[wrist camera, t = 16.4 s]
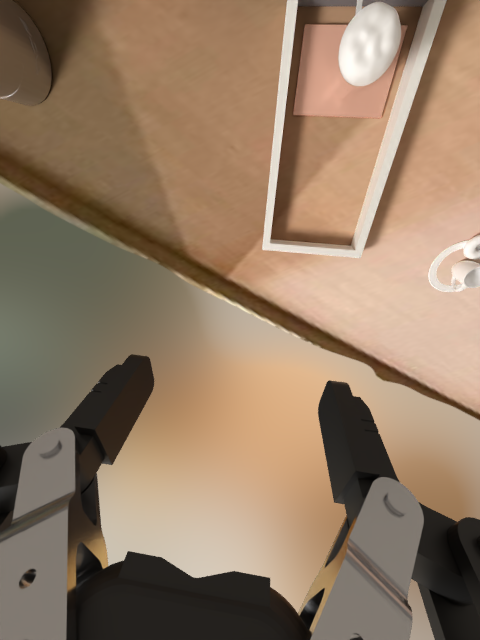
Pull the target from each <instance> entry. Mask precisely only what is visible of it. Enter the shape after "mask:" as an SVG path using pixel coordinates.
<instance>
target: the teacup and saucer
mask: <svg viewBox="0 0 480 640" xmlns="http://www.w3.org/2000/svg"><path fill="white" fill-rule="evenodd" d="M463 248H464V250H463V252H464V255H465V256H466V257H467V258H469V259H480V235H477V236H475V237H473V238H472V239H470V240H466V241H462V242H459V243H456V244H454V245H452V246H450V247H448V248H447V249H445V250H444V251H443V252H441V253H440V254H439V255H438V256H437V257H436V259H435V260H434V261H433V263H432V265H431V267H430V269H429V274H428V278H429V282H430V284H431V285H432V286H433V287H434V288H435V289H437V290H439V291H443V292H455V291H458V292H459V291H462V290H464V289H466V288H468V287H469V288H475V287H479V286H480V264H479V263H476V262H473V261H467V260H465V261H459V262H457V263H456V264H454V265H453V267H452V269H451V272H452V274H453V277H452V280H451V284H452V286H448V285H444V284H442V283H440V282H439V280H438V279H437V276H436V272H437V268H438V266H439V264H440V263H441V261H442V260H443V259H444V258H445V257H446V256H448V255H449V254H451V253H452V252H454V251H456V250H459V249H463ZM475 249H477V250H478V251H477V250H475ZM456 279H457V280H458V281H459V282H461V283H462V284H459V285H455V281H456Z"/></svg>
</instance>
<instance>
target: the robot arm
mask: <svg viewBox="0 0 480 640" xmlns="http://www.w3.org/2000/svg"><path fill="white" fill-rule="evenodd" d="M51 79H52V74H51V64H50V59H49V54H48V51H47V49H46V46H45V43H44V41H43V38H42V36H41V34H40V32H39V30H38V29H37V27H36V26H35V24H34V22H33V21H32V19H31V18H30V17H29V16H28V14H27V13H26V12H25V11H24V10H23V9H22V8H21V7H20V6H19V5H18V4H17V3H16V2H15V1H13V0H0V98H1V99H5V100H9V101H13V102H16V103H20V104H24V105H36V104H39V103H41V102H42V101H43V100H44V99H45V98H46V96H47V95H48V93H49V90H50V87H51ZM153 387H154V377H153V372H152V367H151V362H150V359H149V357H147V356H139V355H130V356H129V357H128V358H127V359H126V360H125V362H124V363H123V364H122V365H116V366H114V367H113V368H112V369H110V370H109V371H107V372H106V373H105V374H104V375H103V377H102V378H101V379H100V380H99V382H98V384H96V385H95V386H94V388H93V389H92V390H91V392H90V393H89V394H88V395H87V396H86V397H85V399H84V400H83V401H82V402H81V403H80V405H79V406H78V407H77V408H76V409H75V411H74V412H73V413H72V414H71V415H70V417H69V418H68V419H67V420H66V421H65V423H64V424H63V425H62V426H61V427H60V428H56V429H53V430H50V431H47V432H45V433H44V434H42V435H40V436H39V437H38V438H37V439H35V440H34V441H33V442H30V443H24V444H17V445H11V446H5V447H1V446H0V640H409V638H410V633H411V627H412V610H411V607H410V606H409V604H408V601H407V596H408V589H409V585H410V581H411V579H413V580H414V581H416V582H417V583H418V586H419V589H420V593H421V596H422V599H423V602H424V606H425V609H426V612H427V615H428V618H429V622H430V625H431V628H432V632H433V635H434V638H435V640H480V520H478V519H475V518H470V517H468V518H464V519H461V520H460V521H458V522H456V521H454V520H452V519H450V518H448V517H446V516H444V515H442V514H440V513H438V512H436V511H434V510H432V509H430V508H428V507H426V506H424V505H422V504H421V503H419V502H418V501H417V499H416V498H415V496H414V495H413V494H412V493H411V492H410V491H409V490H408V489H407V488H406V487H405V486H404V485H403V484H401V483H400V482H399V480H398V478H397V476H396V474H395V472H394V469H393V467H392V464H391V462H390V459H389V457H388V454H387V452H386V449H385V447H384V444H383V442H382V439H381V437H380V434H378V429H377V427H376V424H375V423H374V419H373V417H372V414H371V412H370V409H369V408H368V406H367V405H366V404H365V403H364V402H363V400H361V398H360V397H354V396H353V395H352V393H351V390H350V387H349V385H348V384H347V383H344V382H336V381H328V382H327V384H326V386H325V389H324V392H323V395H322V397H321V400H320V403H319V407H318V415H319V421H320V427H321V433H322V438H323V444H324V449H325V455H326V460H327V466H328V470H329V476H330V481H331V487H332V493H333V498H334V502H335V503H340V504H345V509H346V514H347V515H346V517H345V519H344V521H343V523H342V525H341V527H340V530H339V532H338V534H337V536H336V538H335V540H334V542H333V545H332V547H331V549H330V551H329V553H328V555H327V557H326V559H325V562H324V564H323V566H322V568H321V570H320V572H319V573H318V575H317V577H316V578H315V580H314V582H313V583H312V586H311V587H310V589H309V591H308V593H307V595H306V597H305V599H304V602H303V604H302V606H301V608H300V610H299V612H298V613H297V612H296V610H295V609H294V608H293V607H292V605H291V604H290V603H289V602H288V601H287V600H286V599H285V598H284V597H283V596H281V595H280V594H279V593H278V592H277V591H275V590H274V589H272V588H271V587H270V578H267V577H262V576H257V575H251V574H246V573H241V572H235V571H233V572H227V573H222V574H217V575H212V576H207V577H202V578H193V577H191V576H190V575H188V574H186V573H185V572H183V571H182V570H180V569H179V568H177V567H175V566H174V565H172V564H171V563H169V562H167V561H166V560H165V559H163V558H161V557H156V556H150V555H145V554H140V553H135V552H129V551H128V552H127V555H126V557H125V560H124V561H121V562H118V563H115V564H112V565H110V566H108V558H107V550H106V544H105V540H104V537H103V534H102V529H101V519H100V507H99V494H98V481H97V473H96V472H97V471H98V469H99V467H100V465H101V464H102V463H103V464H109V465H112V464H113V462H114V461H115V459H116V457H117V455H118V453H119V452H120V450H121V448H122V446H123V444H124V442H125V441H126V439H127V437H128V435H129V433H130V431H131V430H132V428H133V426H134V424H135V422H136V420H137V419H138V417H139V415H140V413H141V411H142V409H143V408H144V405H145V404H146V402H147V400H148V398H149V396H150V395H151V393H152V390H153Z"/></svg>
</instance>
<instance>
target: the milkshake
mask: <svg viewBox="0 0 480 640" xmlns="http://www.w3.org/2000/svg"><path fill="white" fill-rule="evenodd" d="M362 3H363V0H357V5H356V14H355V16H354V17H353V19H352V20H351V21H350V23H349V24H348V26H347V28H346V29H345V31H344V34H343V36H342V39H341V43H340V46H339V50H338V53H337V56H336V59H335V62H334V65H333V68H332V70H331V74H330V80H329V88H330V91H331V94H332V96H334V97H336V98H338V99H340V100H341V99H344V98H346V97H349V96H351V95H353V94H354V93H356V92H357V91H359V90H360V89H362V88H363V87H365V86H367V85H369V84H371V83H373V82H374V81H376V80H377V79H379V78H380V77H381V76H382V75H383V74H384V73H385V71H386V70H387V69H388V68H389V66H390V65H391V63H392V61H393V59H394V57H395V55H396V53H397V51H398V48H399V45H400V40H401V25H400V20H399V16H398V13H397V11H396V9H395V8H393V7H392V6H390V5H388V4H386V3H383V2H374V3H371V4H369V5H368V6H366V7H364V8H363V9H362Z"/></svg>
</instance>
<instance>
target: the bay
mask: <svg viewBox="0 0 480 640" xmlns="http://www.w3.org/2000/svg"><path fill="white" fill-rule="evenodd" d="M446 1H447V0H363V3H362V6H368V5H369V4H371V3H374V2H383V3H386V4H388V5H390V6H423V8H422V11H421V15H420V18H419V21H418V25H417V28H416V31H415V34H414V38H413V41H412V44H411V48H410V51H409V54H408V58H407V61H406V64H405V68H404V71H403V74H402V78H401V81H400V84H399V87H398V91H397V94H396V97H395V101H394V104H393V107H392V111H391V114H390V117H389V121H388V124H387V127H386V131H385V134H384V137H383V140H382V144H381V147H380V150H379V154H378V157H377V160H376V164H375V167H374V170H373V174H372V177H371V180H370V184H369V187H368V190H367V193H366V197H365V200H364V203H363V207H362V210H361V213H360V217H359V220H358V223H357V227H356V230H355V233H354V237H353V240H352V243H351V246H348V245H336V244H324V243H311V242H299V241H287V240H275V239H270V238H271V229H272V221H273V212H274V203H275V195H276V186H277V177H278V169H279V160H280V152H281V143H282V134H283V126H284V117H285V109H286V100H287V91H288V83H289V74H290V65H291V57H292V48H293V40H294V31H295V22H296V14H297V6H356V5H357V0H287V8H286V17H285V27H284V37H283V47H282V57H281V67H280V77H279V87H278V97H277V107H276V117H275V127H274V137H273V147H272V157H271V167H270V177H269V187H268V197H267V207H266V217H265V227H264V237H263V247H262V250H271V251H283V252H295V253H307V254H318V255H330V256H342V257H353V258H361V255H362V252H363V249H364V246H365V243H366V240H367V237H368V234H369V231H370V228H371V225H372V222H373V219H374V216H375V213H376V210H377V207H378V204H379V201H380V198H381V195H382V192H383V189H384V186H385V183H386V180H387V177H388V174H389V171H390V168H391V165H392V162H393V159H394V156H395V153H396V150H397V147H398V144H399V141H400V138H401V135H402V132H403V129H404V126H405V124H406V121H407V118H408V115H409V112H410V109H411V106H412V103H413V100H414V97H415V94H416V91H417V88H418V85H419V82H420V79H421V76H422V73H423V70H424V67H425V64H426V61H427V58H428V55H429V52H430V49H431V46H432V43H433V40H434V37H435V34H436V31H437V28H438V25H439V22H440V19H441V16H442V13H443V10H444V7H445V4H446ZM347 26H348V25H316V24H305V27H304V35H303V42H302V50H301V58H300V65H299V73H298V81H297V88H296V96H295V104H294V111H293V115H303V116H329V117H354V118H381V116H382V113H383V109H384V106H385V102H386V99H387V95H388V92H389V88H390V85H391V82H392V78H393V75H394V71H395V68H396V64H397V61H398V57H399V54H400V50H401V47H402V43H403V40H404V36H405V33H406V29H407V26H408V25H401V40H400V45H399V48H398V51H397V53H396V55H395V57H394V59H393V61H392V63H391V65H390V66H389V68H388V69H387V70H386V71H385V73H384V74H383V75H382V76H381V77H380V78H379V79H377V80H376V81H374V82H373V83H371V84H369V85H367V86H365V87H363V88H362V89H360V90H359V91H357V92H356V93H354V94H353V95H351V96H349V97H346V98H344V99H341V100H340V99H338V98H336V97H334V96H332V94H331V91H330V88H329V80H330V74H331V70H332V68H333V65H334V62H335V59H336V56H337V53H338V50H339V46H340V43H341V39H342V36H343V34H344V31H345V29H346V28H347Z"/></svg>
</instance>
